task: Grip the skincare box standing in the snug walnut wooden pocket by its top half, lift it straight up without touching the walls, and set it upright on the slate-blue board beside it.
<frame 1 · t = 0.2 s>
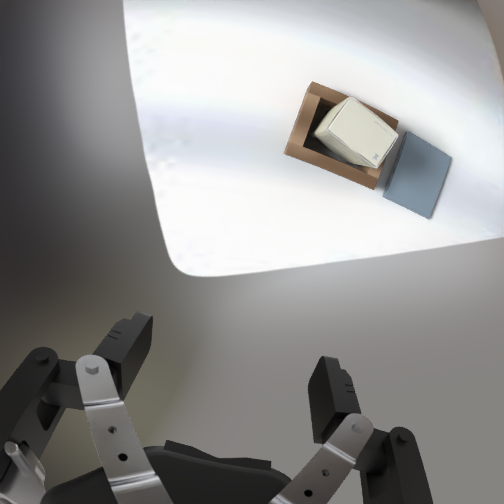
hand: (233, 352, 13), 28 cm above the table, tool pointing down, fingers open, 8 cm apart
pocket block: (336, 136, 36), on the table
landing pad: (417, 175, 37), on the table
skincare box: (336, 136, 36), resting in pocket block
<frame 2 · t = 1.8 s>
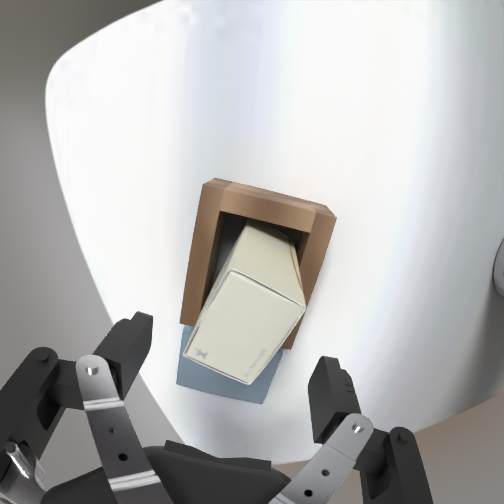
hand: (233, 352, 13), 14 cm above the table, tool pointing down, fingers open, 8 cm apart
pocket block: (254, 254, 26), on the table
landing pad: (226, 365, 31), on the table
skincare box: (254, 254, 26), resting in pocket block
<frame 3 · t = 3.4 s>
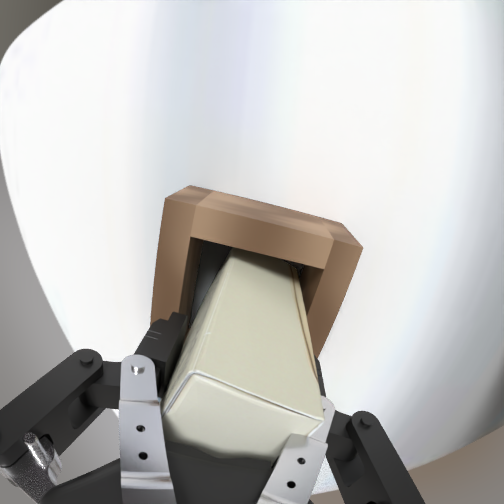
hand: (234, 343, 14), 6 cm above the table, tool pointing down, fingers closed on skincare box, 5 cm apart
pocket block: (244, 288, 19), on the table
skincare box: (245, 286, 20), resting in pocket block, touching gripper
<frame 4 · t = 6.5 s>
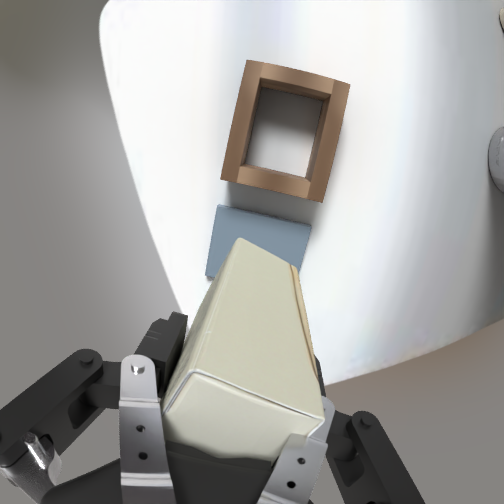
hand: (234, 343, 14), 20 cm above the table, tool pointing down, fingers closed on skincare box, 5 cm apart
pocket block: (283, 131, 29), on the table
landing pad: (256, 249, 33), on the table
skincare box: (245, 286, 20), point 14 cm above the table, touching gripper
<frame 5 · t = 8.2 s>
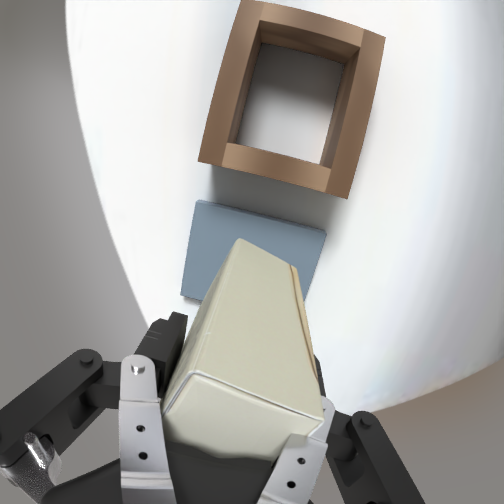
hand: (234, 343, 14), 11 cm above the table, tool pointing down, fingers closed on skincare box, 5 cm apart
pocket block: (291, 100, 20), on the table
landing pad: (250, 261, 24), on the table
skincare box: (245, 286, 20), point 5 cm above the table, touching gripper
when the fingers open (8 cm above the table, at t = 9.6 s): skincare box drops 1 cm, resting on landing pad.
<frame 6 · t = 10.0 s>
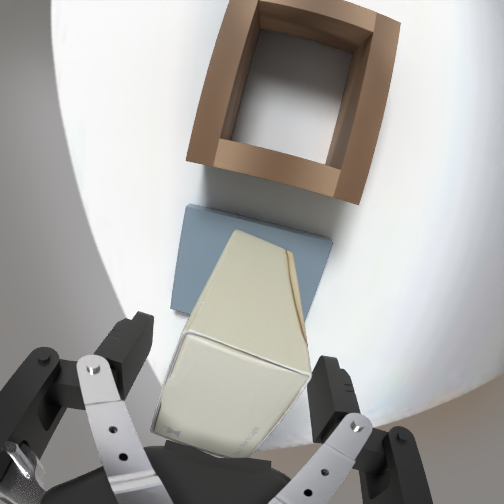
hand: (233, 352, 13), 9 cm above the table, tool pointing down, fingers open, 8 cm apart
pocket block: (293, 92, 17), on the table
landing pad: (247, 273, 22), on the table
skincare box: (246, 275, 21), point 1 cm above the table, touching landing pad
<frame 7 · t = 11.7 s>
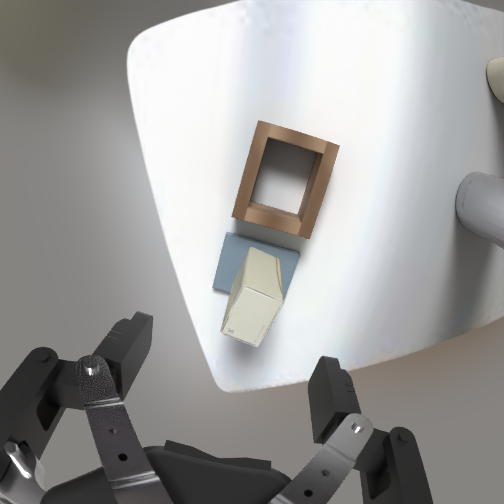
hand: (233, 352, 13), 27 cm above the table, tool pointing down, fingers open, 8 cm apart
pocket block: (283, 176, 37), on the table
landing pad: (255, 268, 41), on the table
travel mug: (500, 81, 29), on the table
skincare box: (255, 269, 40), point 1 cm above the table, touching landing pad
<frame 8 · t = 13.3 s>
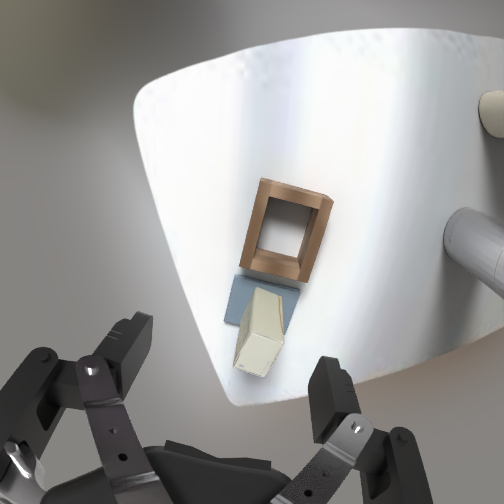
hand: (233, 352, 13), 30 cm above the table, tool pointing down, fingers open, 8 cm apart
pocket block: (283, 225, 42), on the table
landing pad: (260, 304, 46), on the table
travel mug: (492, 114, 33), on the table
skincare box: (261, 305, 46), point 1 cm above the table, touching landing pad
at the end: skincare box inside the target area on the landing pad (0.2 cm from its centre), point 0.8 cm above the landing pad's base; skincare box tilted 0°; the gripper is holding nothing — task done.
